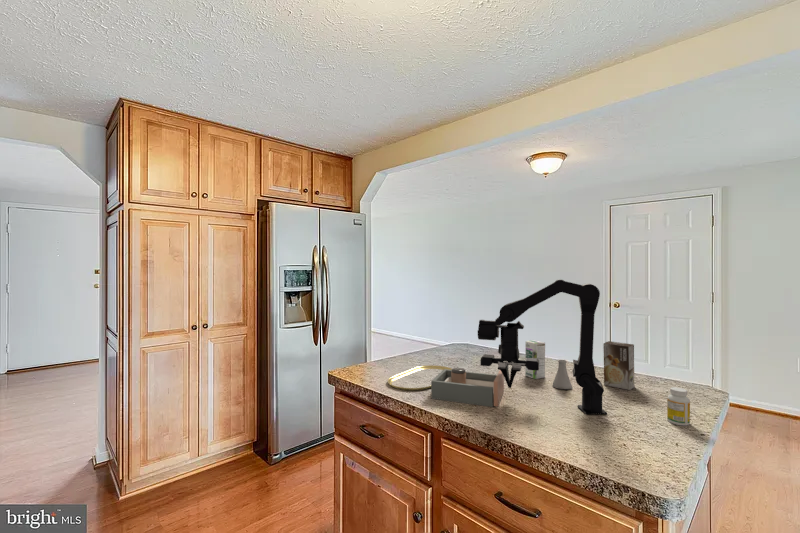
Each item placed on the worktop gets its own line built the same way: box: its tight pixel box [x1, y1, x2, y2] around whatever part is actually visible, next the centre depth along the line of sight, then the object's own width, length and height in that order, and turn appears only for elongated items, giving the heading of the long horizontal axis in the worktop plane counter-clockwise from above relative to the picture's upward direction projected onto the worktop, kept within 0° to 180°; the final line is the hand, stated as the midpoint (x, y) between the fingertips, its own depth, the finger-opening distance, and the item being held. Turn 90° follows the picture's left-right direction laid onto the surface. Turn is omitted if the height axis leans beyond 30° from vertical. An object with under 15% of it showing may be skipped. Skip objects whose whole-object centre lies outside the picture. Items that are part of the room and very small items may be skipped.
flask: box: [551, 359, 573, 390], centre depth 143 cm, size 7×7×10 cm
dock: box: [430, 369, 497, 408], centre depth 134 cm, size 21×16×6 cm
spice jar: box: [451, 367, 466, 384], centre depth 135 cm, size 5×5×7 cm
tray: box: [445, 370, 505, 407], centre depth 134 cm, size 20×16×8 cm
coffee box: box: [602, 340, 636, 391], centre depth 145 cm, size 9×6×16 cm
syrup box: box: [524, 339, 546, 380], centre depth 157 cm, size 6×6×14 cm
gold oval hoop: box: [387, 364, 453, 392], centre depth 154 cm, size 19×35×2 cm, turn 145°
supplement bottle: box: [666, 386, 691, 427], centre depth 111 cm, size 5×5×10 cm
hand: (509, 387), depth 129 cm, fingers closed
